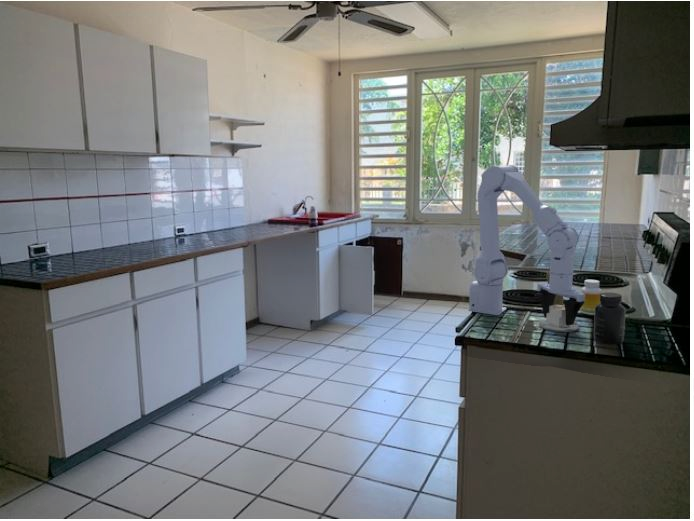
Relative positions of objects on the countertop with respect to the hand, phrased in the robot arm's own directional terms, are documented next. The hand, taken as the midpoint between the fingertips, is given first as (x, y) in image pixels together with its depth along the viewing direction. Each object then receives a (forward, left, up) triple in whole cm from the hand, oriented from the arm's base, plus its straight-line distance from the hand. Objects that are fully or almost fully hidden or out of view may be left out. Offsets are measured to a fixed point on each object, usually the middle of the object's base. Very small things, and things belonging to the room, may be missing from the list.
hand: (558, 320), depth 137 cm
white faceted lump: (0, 0, -1) cm, 1 cm away
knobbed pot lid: (0, 0, -2) cm, 2 cm away
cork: (-6, +21, -2) cm, 22 cm away
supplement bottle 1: (+5, +18, -2) cm, 19 cm away
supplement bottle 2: (+13, -5, -2) cm, 14 cm away
